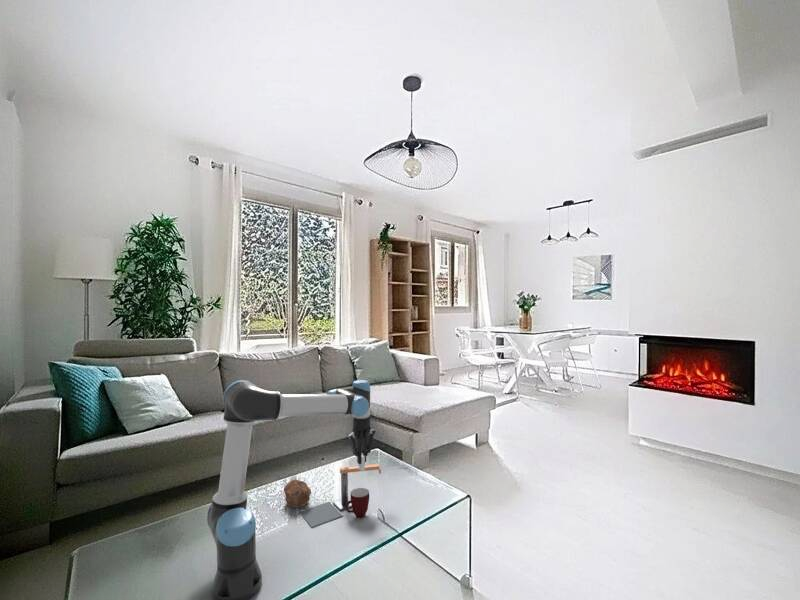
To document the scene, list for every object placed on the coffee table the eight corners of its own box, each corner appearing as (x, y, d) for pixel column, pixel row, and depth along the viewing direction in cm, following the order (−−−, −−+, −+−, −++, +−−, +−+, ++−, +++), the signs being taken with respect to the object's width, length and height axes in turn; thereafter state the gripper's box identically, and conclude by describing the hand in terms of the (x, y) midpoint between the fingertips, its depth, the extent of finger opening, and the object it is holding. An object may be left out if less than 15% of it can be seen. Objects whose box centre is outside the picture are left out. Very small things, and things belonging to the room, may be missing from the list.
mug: (351, 525, 160) (350, 501, 159) (342, 516, 166) (342, 493, 166) (373, 516, 166) (372, 493, 165) (363, 508, 172) (363, 486, 172)
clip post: (340, 511, 170) (340, 478, 170) (333, 503, 176) (332, 472, 176) (356, 505, 174) (356, 473, 174) (348, 498, 181) (348, 467, 181)
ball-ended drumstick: (381, 474, 176) (381, 466, 176) (340, 478, 173) (339, 471, 173) (379, 470, 180) (379, 463, 180) (339, 474, 177) (339, 467, 177)
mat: (311, 528, 158) (311, 527, 158) (299, 512, 170) (299, 511, 170) (342, 516, 166) (342, 515, 166) (329, 502, 178) (329, 501, 178)
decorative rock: (280, 502, 179) (279, 480, 178) (302, 493, 186) (301, 472, 186) (292, 513, 169) (292, 491, 169) (315, 504, 176) (315, 482, 176)
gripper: (352, 421, 161) (352, 477, 161) (378, 415, 169) (379, 469, 169) (344, 416, 167) (344, 471, 168) (370, 411, 175) (370, 463, 175)
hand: (361, 470), depth 168 cm, fingers closed
